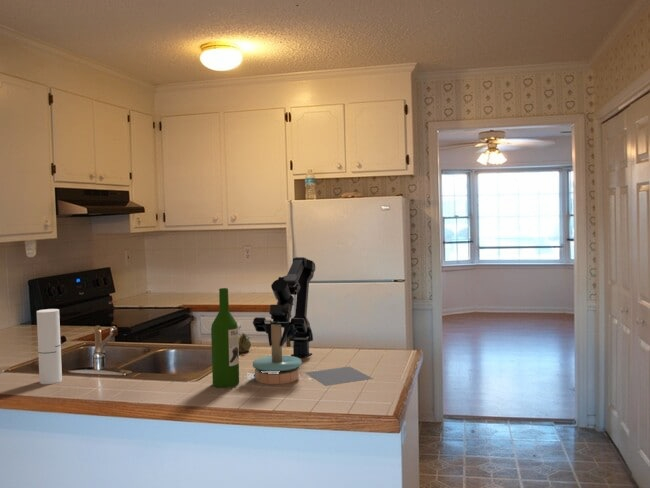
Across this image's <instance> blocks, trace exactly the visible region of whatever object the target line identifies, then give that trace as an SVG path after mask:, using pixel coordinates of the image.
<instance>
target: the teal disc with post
mask: <svg viewBox="0 0 650 488" xmlns="http://www.w3.org/2000/svg"><path fill="white" fill-rule="evenodd" d="M282 335H283V332H282V328H281V324H271V346H270V347H271V355H270V356H269V355H268V356H262V357H258V358H256V359H254V360H253V361H252V367H253V368H254V370H255V369H258V370H263V371H285V370H291V369H295V368H297V367H299V368H300V367H301V366H302V359H301V358H300V357H294V356H291V355H283V346H280V343H281V338H282Z"/></svg>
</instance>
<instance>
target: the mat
mask: <svg viewBox="0 0 650 488" xmlns="http://www.w3.org/2000/svg"><path fill="white" fill-rule="evenodd" d="M305 374H306V375H308V376H309V377H311V378H313V379H314V380H316V381H317V382H318V383H321V384H322V385H323V386H325V387H328V386H333V385H341V384H345V383H346V384H347V383H353V382H361V381H366V380H367V381H368V380H374V378H373V377H371V376H370V375H367V374H365V373H364V372H361V371H360V370H357V369H356V368H353V367H351V366H345V367H335V368H331V369H330V368H329V369H322V370H315V371H313V370H312V371H306V372H305Z"/></svg>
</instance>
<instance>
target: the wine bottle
mask: <svg viewBox="0 0 650 488" xmlns="http://www.w3.org/2000/svg"><path fill="white" fill-rule="evenodd" d="M218 291H219V292H218V293H219V295H218V296H219V297H218V299H219V301H218V302H219V303H218V304H219V306H218V307H219V311H218V313H217V315H215V318H214V320H213V321H212V323H211V331H210V334H211V337H210V339H211V340H210V341H211V367H212V368H211V370H212V371H211V372H212V373H211V374H212V376H211V377H212V378H211V379H212V385H213V387H216V388H223V389H224V388H225V389H227V388H232V387H233V388H234V387H236V386H238V385H240V360H239V359H240V355H239V354H240V353H239V346H238V336H239V325H238V322H237V321H236V319H235V318H234V317H233V315H232V313H231V312H230V305H229V288H228V287H224V288H219V289H218Z"/></svg>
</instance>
